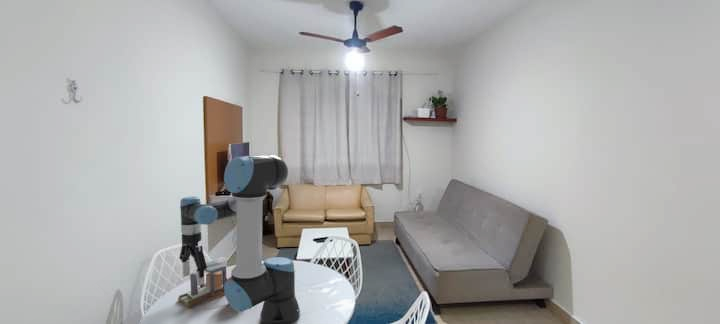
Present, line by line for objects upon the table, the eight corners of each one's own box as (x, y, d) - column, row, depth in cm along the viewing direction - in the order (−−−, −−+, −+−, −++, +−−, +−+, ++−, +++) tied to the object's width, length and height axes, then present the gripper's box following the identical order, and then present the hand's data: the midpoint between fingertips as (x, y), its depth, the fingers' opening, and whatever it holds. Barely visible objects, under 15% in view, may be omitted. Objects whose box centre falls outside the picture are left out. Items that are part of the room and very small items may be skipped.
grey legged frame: (238, 288, 150) (237, 262, 149) (189, 308, 132) (188, 279, 131) (225, 282, 156) (224, 257, 155) (178, 300, 139) (176, 272, 138)
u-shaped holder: (225, 287, 147) (224, 266, 146) (194, 299, 136) (193, 277, 135) (218, 283, 151) (217, 263, 150) (187, 295, 140) (186, 273, 139)
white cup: (210, 277, 162) (209, 258, 161) (227, 274, 165) (226, 256, 165) (210, 283, 155) (209, 263, 154) (227, 280, 158) (226, 261, 158)
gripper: (214, 235, 132) (216, 284, 134) (187, 225, 148) (189, 269, 149) (196, 240, 126) (198, 291, 128) (170, 229, 142) (172, 275, 143)
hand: (193, 279), depth 139 cm, fingers open, 13 cm apart
